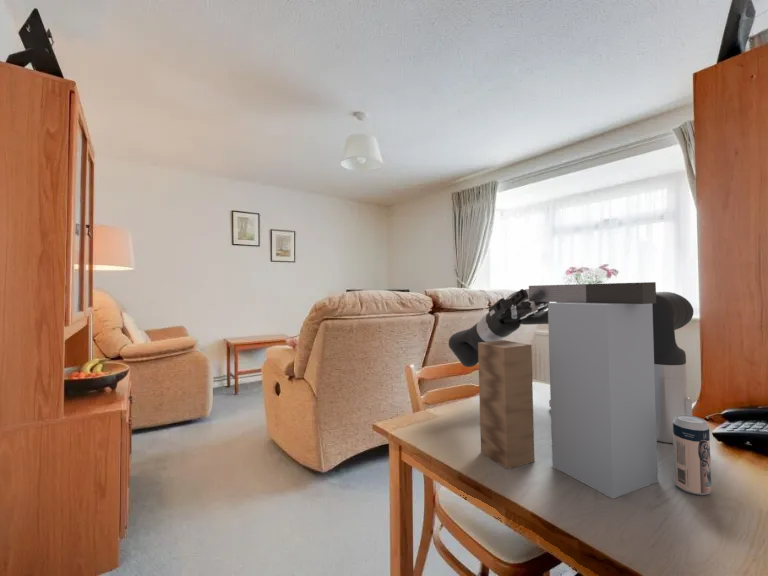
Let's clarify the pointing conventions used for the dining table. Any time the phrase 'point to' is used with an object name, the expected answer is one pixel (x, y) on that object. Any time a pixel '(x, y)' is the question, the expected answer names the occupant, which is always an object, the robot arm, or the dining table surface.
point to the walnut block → (506, 402)
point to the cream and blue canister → (692, 454)
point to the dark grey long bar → (595, 293)
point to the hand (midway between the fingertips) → (540, 292)
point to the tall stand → (603, 394)
